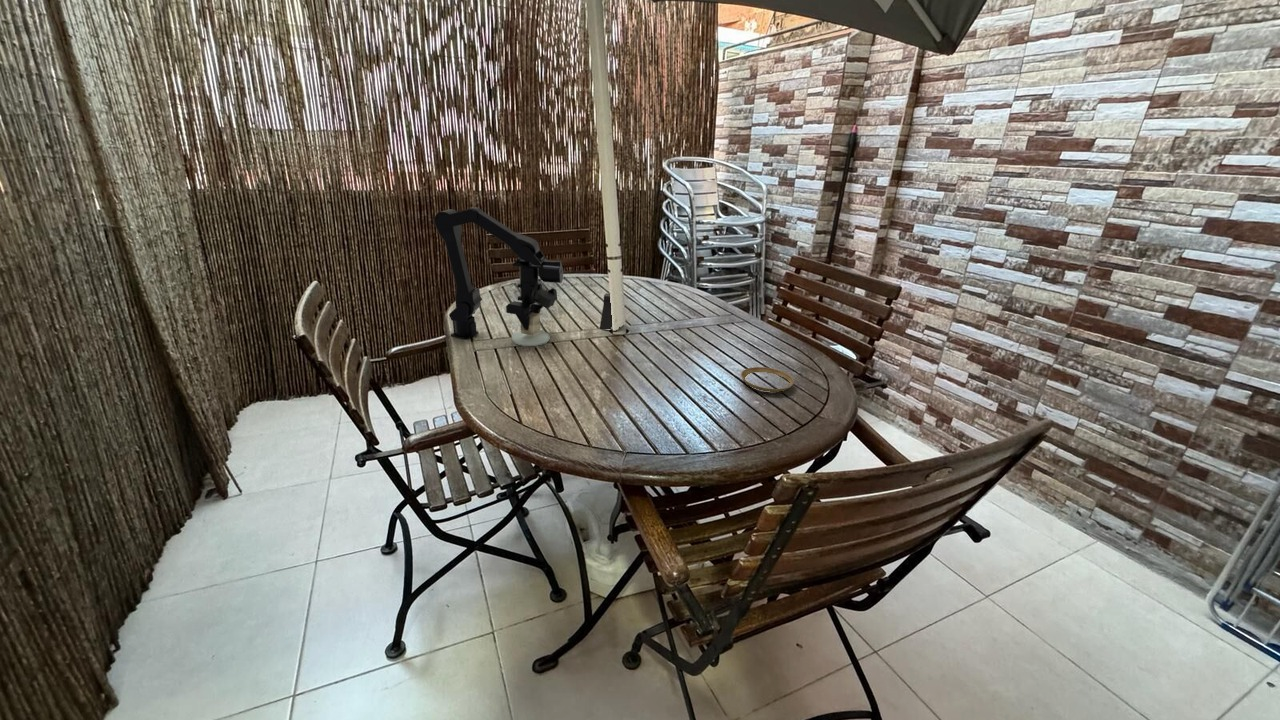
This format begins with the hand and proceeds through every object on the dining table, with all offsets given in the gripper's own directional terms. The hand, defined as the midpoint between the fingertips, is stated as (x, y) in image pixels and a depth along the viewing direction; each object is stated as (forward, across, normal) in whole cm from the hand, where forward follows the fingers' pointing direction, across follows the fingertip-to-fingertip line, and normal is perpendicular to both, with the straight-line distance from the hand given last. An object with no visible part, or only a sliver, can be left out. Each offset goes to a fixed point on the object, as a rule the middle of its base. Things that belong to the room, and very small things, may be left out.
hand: (530, 327), depth 166 cm
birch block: (+2, 0, 0) cm, 2 cm away
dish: (+4, 0, 0) cm, 4 cm away
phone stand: (+4, +24, -19) cm, 31 cm away
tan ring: (+5, 0, -76) cm, 76 cm away
